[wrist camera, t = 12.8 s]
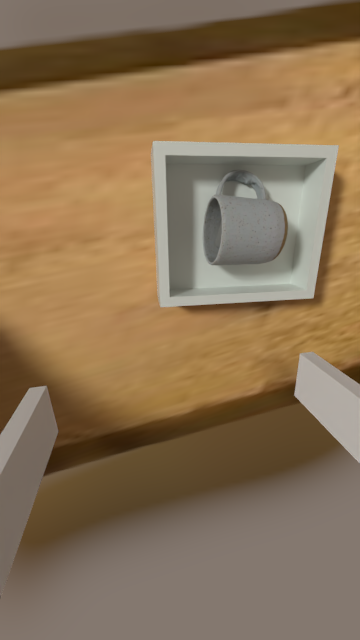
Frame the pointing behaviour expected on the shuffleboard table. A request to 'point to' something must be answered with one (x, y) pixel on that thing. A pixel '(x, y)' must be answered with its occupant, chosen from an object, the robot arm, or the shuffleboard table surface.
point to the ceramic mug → (243, 225)
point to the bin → (280, 186)
